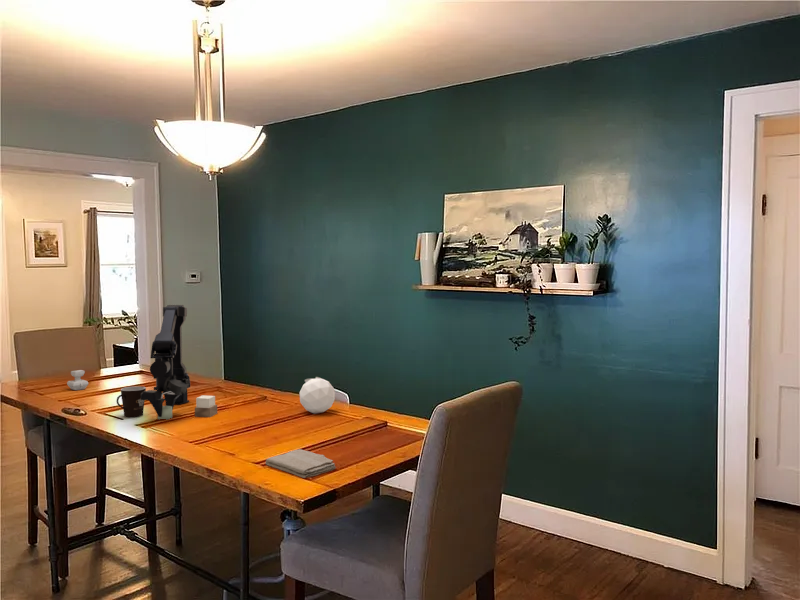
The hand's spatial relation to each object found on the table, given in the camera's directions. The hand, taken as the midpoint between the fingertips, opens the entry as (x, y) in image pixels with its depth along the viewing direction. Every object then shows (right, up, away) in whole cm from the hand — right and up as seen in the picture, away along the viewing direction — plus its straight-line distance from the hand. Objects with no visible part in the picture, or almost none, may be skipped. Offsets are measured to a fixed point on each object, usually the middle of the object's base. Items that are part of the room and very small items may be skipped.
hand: (165, 415), depth 231 cm
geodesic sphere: (+54, -1, +11) cm, 55 cm away
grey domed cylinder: (0, -1, 0) cm, 1 cm away
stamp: (-58, +2, +51) cm, 77 cm away
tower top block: (+13, +2, +5) cm, 14 cm away
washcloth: (+58, -5, -55) cm, 80 cm away
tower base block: (+13, -1, +5) cm, 14 cm away
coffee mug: (-14, -1, +2) cm, 14 cm away
